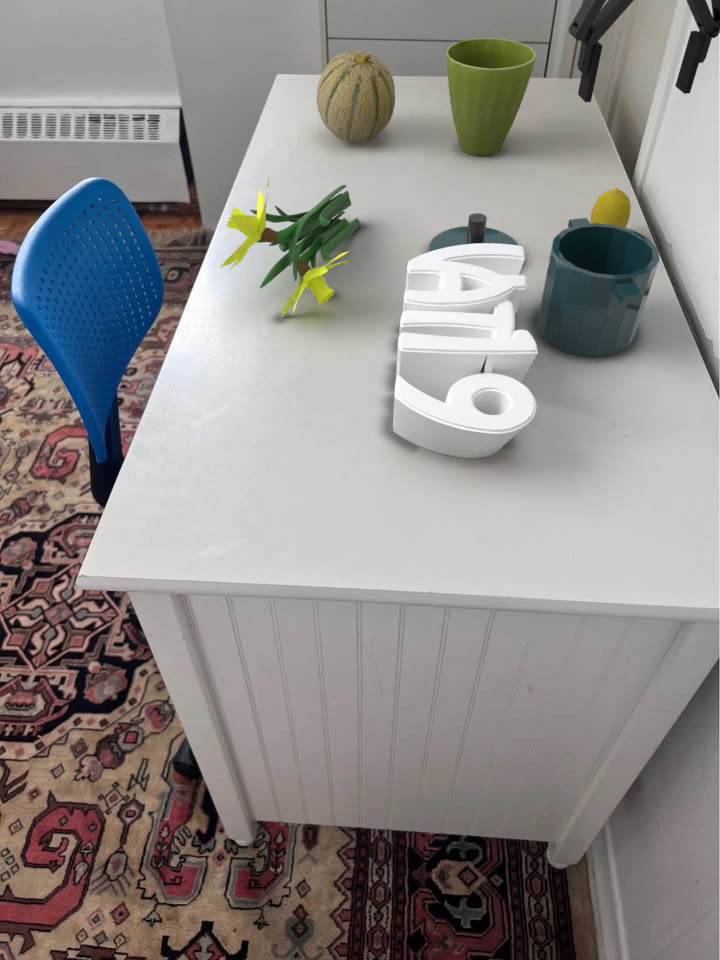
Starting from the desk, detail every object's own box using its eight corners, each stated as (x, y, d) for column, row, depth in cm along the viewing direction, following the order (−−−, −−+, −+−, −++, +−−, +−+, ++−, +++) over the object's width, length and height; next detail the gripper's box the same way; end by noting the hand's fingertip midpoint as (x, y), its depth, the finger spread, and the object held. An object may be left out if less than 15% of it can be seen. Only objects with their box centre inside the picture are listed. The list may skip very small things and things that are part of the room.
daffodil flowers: (407, 238, 114) (344, 308, 85) (330, 276, 120) (248, 353, 92) (357, 134, 108) (271, 172, 79) (279, 180, 114) (175, 231, 86)
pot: (604, 285, 102) (625, 208, 94) (658, 364, 90) (688, 284, 82) (519, 294, 101) (532, 218, 93) (562, 375, 89) (582, 296, 81)
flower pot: (534, 141, 135) (549, 46, 123) (502, 173, 126) (515, 74, 114) (461, 125, 140) (469, 32, 128) (426, 155, 132) (431, 58, 120)
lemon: (626, 248, 109) (640, 197, 103) (589, 248, 109) (601, 198, 103) (618, 229, 113) (631, 179, 107) (582, 230, 113) (594, 180, 107)
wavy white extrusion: (409, 292, 102) (411, 223, 94) (526, 301, 100) (539, 231, 92) (373, 472, 79) (372, 400, 71) (525, 488, 77) (541, 416, 69)
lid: (504, 229, 113) (509, 191, 109) (531, 276, 104) (538, 236, 100) (419, 237, 112) (421, 199, 108) (439, 285, 103) (442, 246, 99)
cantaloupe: (334, 118, 143) (330, 33, 132) (404, 127, 140) (407, 40, 129) (306, 149, 134) (299, 60, 123) (380, 159, 131) (380, 69, 120)
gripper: (772, -125, 82) (709, 76, 98) (563, -113, 80) (533, 90, 96) (810, -113, 77) (736, 96, 93) (589, -100, 75) (552, 113, 91)
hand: (633, 94), depth 94 cm, fingers open, 13 cm apart
